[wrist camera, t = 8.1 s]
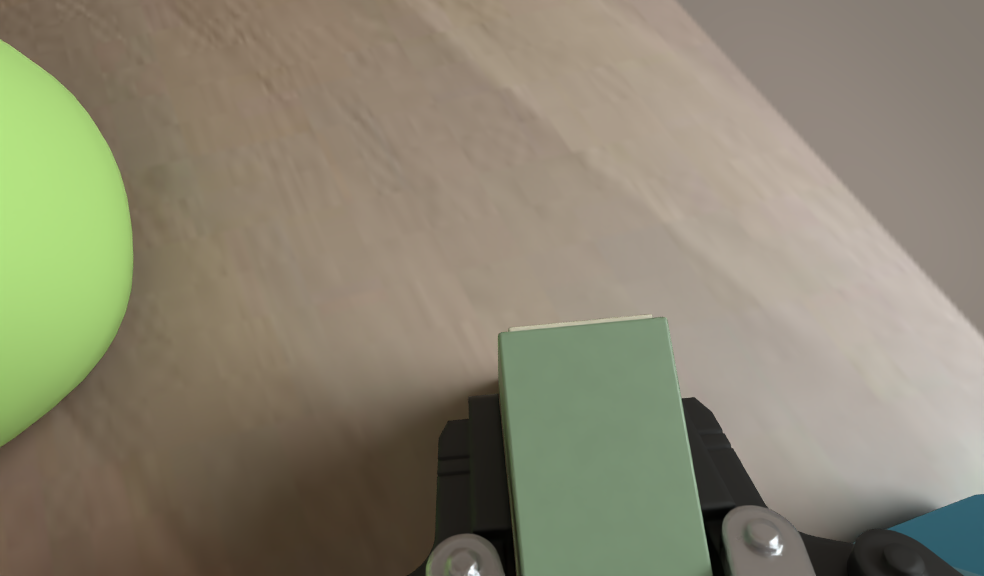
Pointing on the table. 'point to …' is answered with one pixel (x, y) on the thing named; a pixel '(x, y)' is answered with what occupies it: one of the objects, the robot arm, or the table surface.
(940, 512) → the blue rounded block
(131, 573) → the table surface
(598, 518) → the green rectangular block
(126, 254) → the teapot
